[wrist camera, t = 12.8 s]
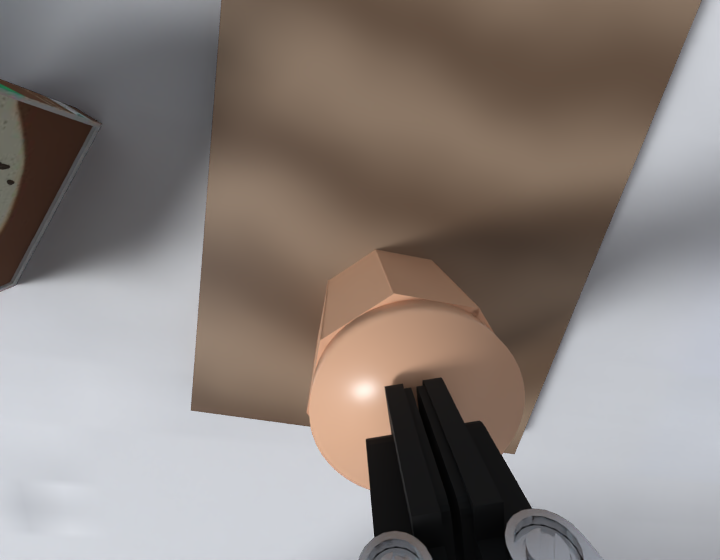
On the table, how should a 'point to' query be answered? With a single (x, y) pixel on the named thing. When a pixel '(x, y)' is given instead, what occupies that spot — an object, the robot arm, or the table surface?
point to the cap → (403, 357)
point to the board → (414, 168)
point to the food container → (34, 169)
